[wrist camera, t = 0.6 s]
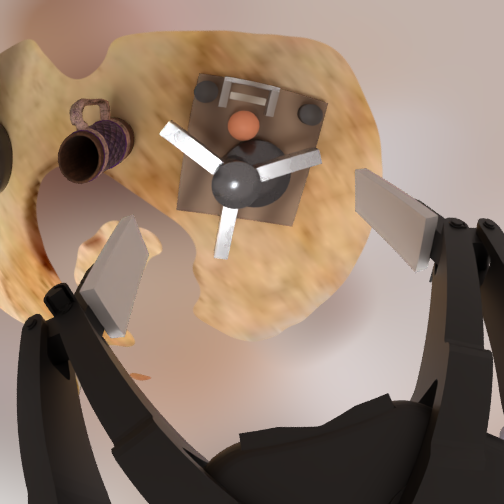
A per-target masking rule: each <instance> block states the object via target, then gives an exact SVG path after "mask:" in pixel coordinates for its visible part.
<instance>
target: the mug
mask: <svg viewBox="0 0 504 504" xmlns="http://www.w3.org/2000/svg"><path fill="white" fill-rule="evenodd" d="M87 105H99V107H100V116H101V121H98V122H95V123H94V124H93V125H91V126H88V124H87V123H86V122H85V121H83V118H82V112H83V109H84V107H85V106H87ZM70 120H71V123H72V125H75V126H76V128H77V131H75V132H73V133H72V134H71V135H69V136H68V137H67V138H66V139H65V140H64V141H63V143H62V144H61V146H60V149H59V152H58V163H59V167H60V170H61V172H62V174H63V175H64V176H65V177H66V178H67V179H68V180H69V181H71V182H73V183H78V184H82V183H86V182H90V181H92V180H93V179H95V178H96V177H98V176H99V175H101V173H103V172H104V171H106V170H107V169H110V168H113V167H114V166H116V165H118V164H119V163H121V162H122V161H123V160H124V159H125V158H126V157H127V156H128V155H129V154H130V152H131V150H132V148H133V145H134V134H133V131H132V129H131V127H130V125H129V124H128V123H127V122H126V121H124V120H122V119H120V118H110V106H109V102H108V101H107V100H104V99H83V98H82V99H80V100H78V101H76V102H75V103H74V104H73V105H72V106H71V109H70Z"/></svg>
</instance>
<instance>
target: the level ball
mask: <svg viewBox="0 0 504 504" xmlns="http://www.w3.org/2000/svg"><path fill="white" fill-rule="evenodd" d="M228 131H229V133H230V134H231V136H233V137H234V138H235V139H237V140H241V141H246V140H250V139H252V138H253V137H254V136H256V134H257V133H258V131H259V120H258V118H257V117H256V116H255V115H254V114H253V113H251V112H249V111H238V112H236V113H234V114H233V115H232V116H231V117H230V119H229V121H228Z"/></svg>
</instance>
